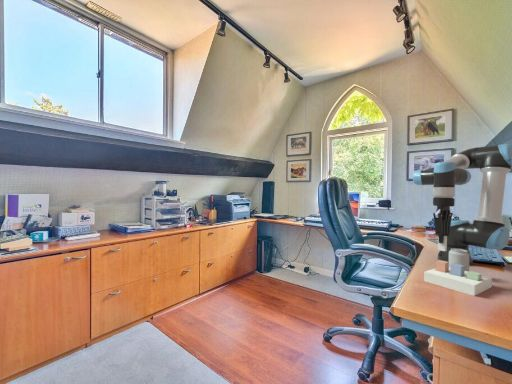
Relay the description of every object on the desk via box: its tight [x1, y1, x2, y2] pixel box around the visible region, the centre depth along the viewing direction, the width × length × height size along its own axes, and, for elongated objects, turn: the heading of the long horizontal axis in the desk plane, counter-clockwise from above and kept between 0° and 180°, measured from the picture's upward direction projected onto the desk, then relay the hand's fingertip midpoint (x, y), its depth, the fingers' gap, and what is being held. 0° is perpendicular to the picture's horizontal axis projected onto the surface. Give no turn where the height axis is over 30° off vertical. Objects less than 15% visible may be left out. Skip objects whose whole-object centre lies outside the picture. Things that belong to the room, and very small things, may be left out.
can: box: [449, 248, 470, 272], centre depth 113 cm, size 8×8×12 cm
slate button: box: [450, 263, 465, 277], centre depth 102 cm, size 4×4×5 cm
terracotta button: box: [434, 259, 449, 273], centre depth 107 cm, size 4×4×5 cm
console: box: [423, 267, 493, 297], centre depth 102 cm, size 18×17×4 cm
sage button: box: [467, 270, 483, 281], centre depth 97 cm, size 4×4×5 cm
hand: (442, 250), depth 106 cm, fingers closed
